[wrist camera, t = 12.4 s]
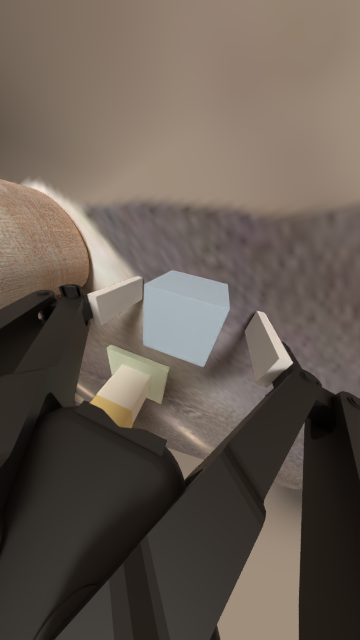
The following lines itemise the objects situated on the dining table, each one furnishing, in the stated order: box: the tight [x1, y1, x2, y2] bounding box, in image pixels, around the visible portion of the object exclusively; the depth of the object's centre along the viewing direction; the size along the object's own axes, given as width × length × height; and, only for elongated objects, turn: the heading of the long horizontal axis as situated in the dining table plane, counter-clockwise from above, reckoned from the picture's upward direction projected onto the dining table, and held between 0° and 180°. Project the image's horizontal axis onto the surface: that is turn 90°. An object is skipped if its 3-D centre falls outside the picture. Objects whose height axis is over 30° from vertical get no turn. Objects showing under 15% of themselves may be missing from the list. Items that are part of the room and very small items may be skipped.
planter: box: [0, 179, 89, 309], centre depth 13 cm, size 11×11×10 cm
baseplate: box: [96, 345, 170, 423], centre depth 24 cm, size 12×12×7 cm
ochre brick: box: [90, 395, 133, 428], centre depth 18 cm, size 6×6×6 cm
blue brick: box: [143, 270, 230, 367], centre depth 13 cm, size 6×6×6 cm
